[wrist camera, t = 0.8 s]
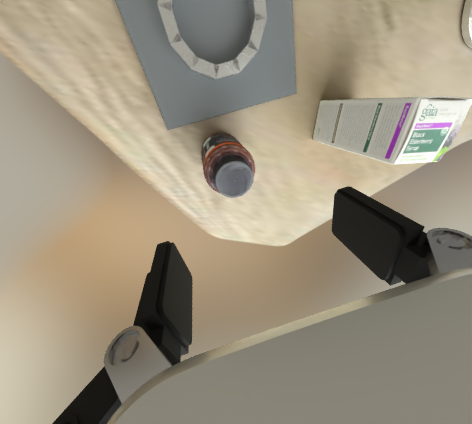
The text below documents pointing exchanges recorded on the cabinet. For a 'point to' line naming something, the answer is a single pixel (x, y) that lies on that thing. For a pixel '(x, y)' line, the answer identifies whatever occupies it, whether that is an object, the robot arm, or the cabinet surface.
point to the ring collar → (204, 67)
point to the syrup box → (392, 126)
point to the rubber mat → (212, 56)
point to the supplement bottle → (227, 165)
